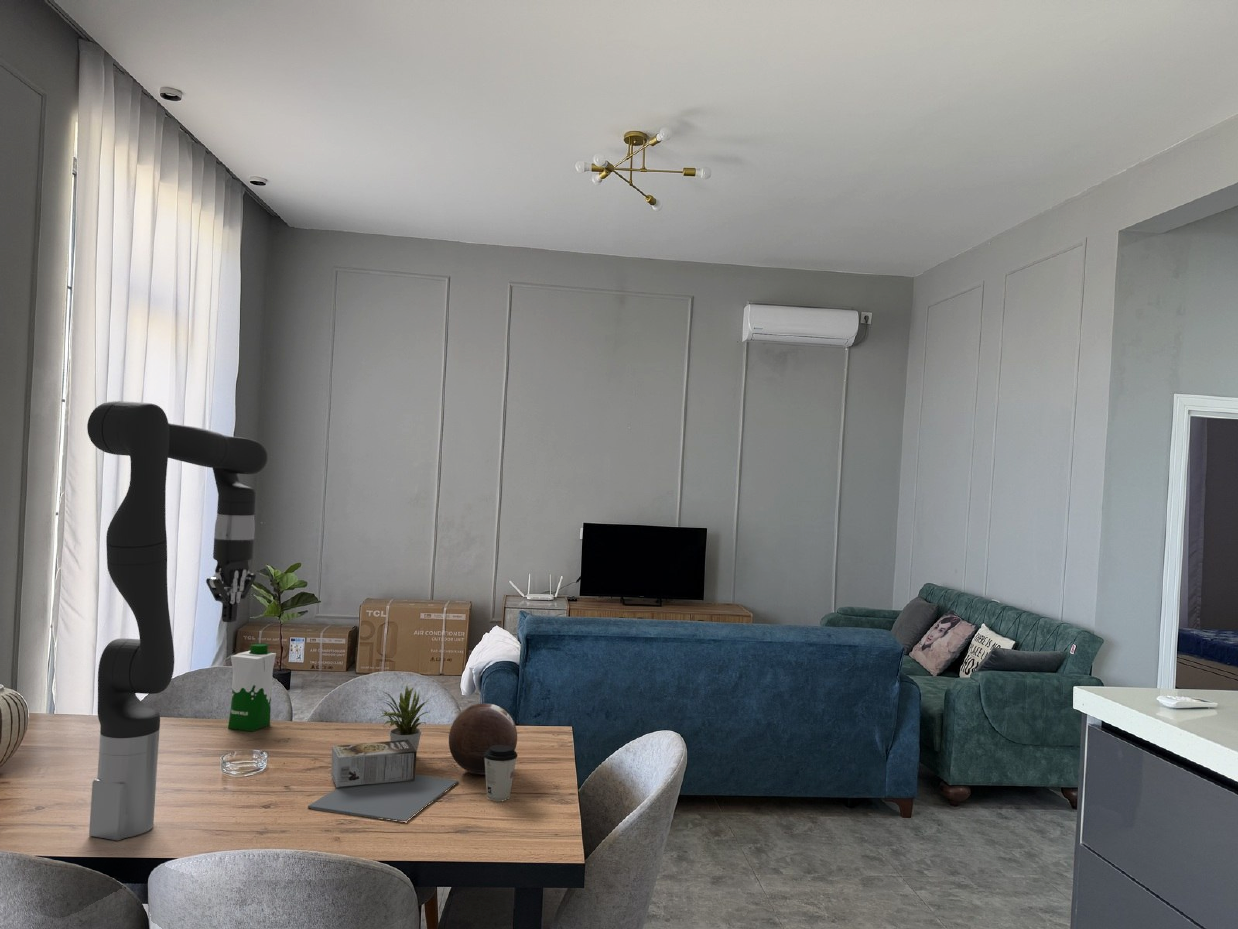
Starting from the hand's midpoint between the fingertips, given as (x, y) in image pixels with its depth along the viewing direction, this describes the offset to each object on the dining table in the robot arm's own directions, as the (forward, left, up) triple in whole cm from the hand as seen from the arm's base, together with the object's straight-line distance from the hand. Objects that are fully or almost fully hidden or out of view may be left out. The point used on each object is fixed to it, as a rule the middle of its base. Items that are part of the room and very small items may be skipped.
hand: (229, 621), depth 181 cm
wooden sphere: (+27, -46, -33) cm, 63 cm away
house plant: (+30, -25, -33) cm, 51 cm away
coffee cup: (+14, -55, -33) cm, 66 cm away
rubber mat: (+7, -34, -33) cm, 48 cm away
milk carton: (+37, +20, -33) cm, 54 cm away
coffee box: (+8, -21, -29) cm, 37 cm away
